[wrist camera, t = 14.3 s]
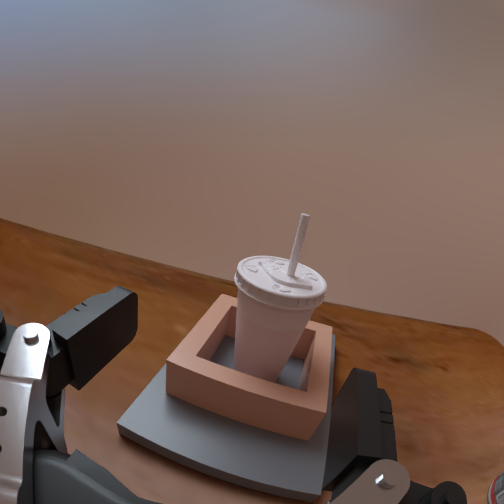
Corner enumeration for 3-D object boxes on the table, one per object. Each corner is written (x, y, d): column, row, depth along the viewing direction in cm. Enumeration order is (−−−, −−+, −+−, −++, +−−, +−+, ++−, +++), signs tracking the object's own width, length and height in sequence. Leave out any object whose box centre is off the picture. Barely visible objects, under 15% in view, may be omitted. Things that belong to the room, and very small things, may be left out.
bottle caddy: (119, 433, 16) (110, 390, 14) (216, 310, 34) (223, 272, 33) (312, 502, 13) (344, 472, 12) (330, 345, 32) (345, 308, 30)
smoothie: (257, 416, 19) (316, 233, 14) (201, 368, 23) (227, 198, 18) (305, 379, 24) (361, 225, 19) (252, 343, 27) (287, 199, 23)
